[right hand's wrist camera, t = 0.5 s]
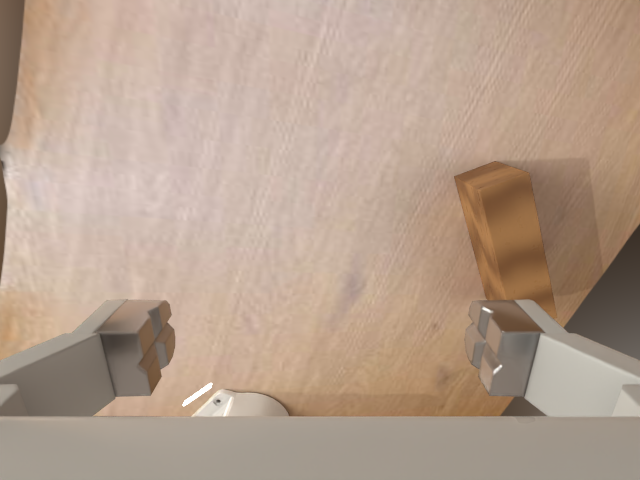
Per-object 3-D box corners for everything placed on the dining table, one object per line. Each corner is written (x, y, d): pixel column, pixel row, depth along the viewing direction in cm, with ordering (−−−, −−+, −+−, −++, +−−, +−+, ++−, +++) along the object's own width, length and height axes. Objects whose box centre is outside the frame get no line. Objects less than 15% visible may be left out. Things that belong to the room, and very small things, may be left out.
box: (454, 176, 54) (479, 190, 45) (495, 161, 53) (529, 172, 44) (486, 298, 60) (513, 331, 52) (523, 286, 60) (557, 317, 51)
